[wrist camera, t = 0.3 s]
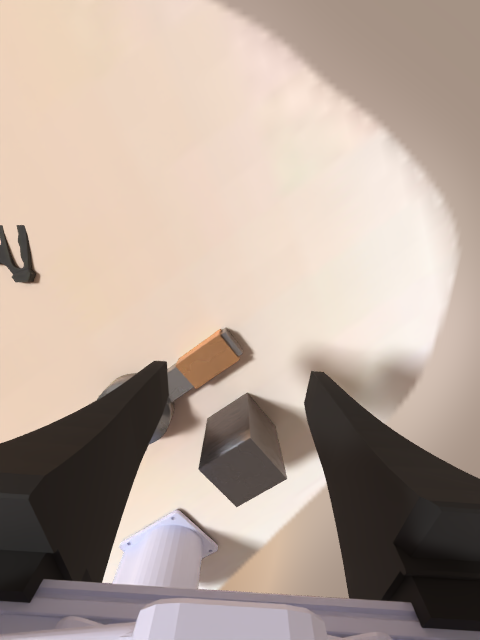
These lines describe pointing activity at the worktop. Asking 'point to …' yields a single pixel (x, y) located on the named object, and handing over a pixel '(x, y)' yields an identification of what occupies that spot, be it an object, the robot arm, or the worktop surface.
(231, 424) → the dark grey block
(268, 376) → the worktop surface
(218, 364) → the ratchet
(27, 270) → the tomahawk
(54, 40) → the worktop surface
